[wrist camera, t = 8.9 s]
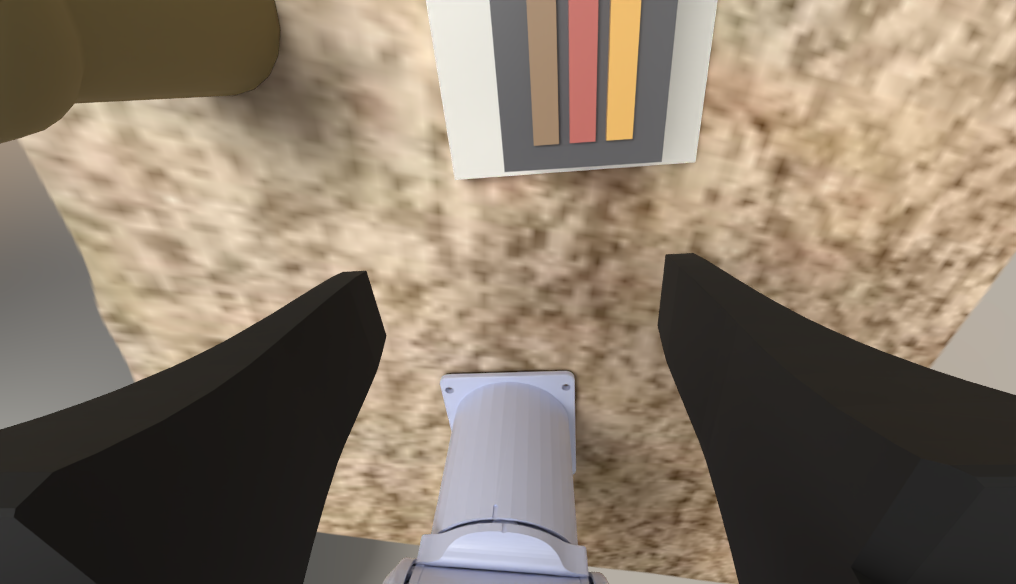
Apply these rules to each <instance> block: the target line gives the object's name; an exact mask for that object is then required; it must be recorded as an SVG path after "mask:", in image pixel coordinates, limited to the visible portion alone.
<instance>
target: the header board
mask: <svg viewBox="0 0 1016 584" xmlns="http://www.w3.org/2000/svg"><path fill="white" fill-rule="evenodd" d="M717 1H718V0H678V7H677V16H676V26H675V36H674V46H673V56H672V66H671V76H670V85H669V95H668V105H667V115H666V125H665V135H664V144H663V154H662V162H653V163H638V164H623V165H607V166H592V167H577V168H562V169H546V170H531V171H516V172H505V171H504V160H503V148H502V137H501V126H500V114H499V103H498V92H497V80H496V69H495V58H494V47H493V35H492V24H491V13H490V1H489V0H426V4H427V10H428V17H429V23H430V29H431V35H432V41H433V47H434V54H435V60H436V66H437V72H438V78H439V84H440V91H441V97H442V103H443V109H444V115H445V121H446V127H447V134H448V140H449V146H450V152H451V158H452V164H453V171H454V177H455V180H460V179H474V178H487V177H501V176H514V175H528V174H542V173H555V172H569V171H583V170H596V169H610V168H623V167H637V166H651V165H664V164H678V163H691V162H695V161H696V154H697V147H698V139H699V132H700V125H701V118H702V110H703V103H704V96H705V88H706V81H707V74H708V67H709V59H710V52H711V45H712V38H713V30H714V23H715V16H716V8H717Z"/></svg>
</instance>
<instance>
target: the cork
mask: <svg viewBox="0 0 1016 584" xmlns="http://www.w3.org/2000/svg"><path fill="white" fill-rule="evenodd" d="M279 38H280V27H279V22H278V16H277V11H276V6H275V1H274V0H0V143H3V142H7V141H11V140H15V139H18V138H22V137H25V136H28V135H31V134H34V133H37V132H40V131H43V130H45V129H47V128H48V127H50V126H51V125H53V124H54V123H56V122H57V121H59V120H60V119H61V118H62V117H63V116H64V115H65V114H66V113H67V112H68V110H69V109H70V108H71V107H72V106H73V105H74V104H75V103H92V102H111V101H131V100H151V99H171V98H191V97H211V96H230V95H238V94H241V93H244V92H247V91H250V90H253V89H255V88H256V87H257V86H258V85H259V84H261V83H262V82H263V81H264V80H265V79H266V78H267V77H268V76H269V75H270V73H271V70H272V68H273V66H274V64H275V61H276V59H277V57H278V51H279Z"/></svg>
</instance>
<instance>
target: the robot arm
mask: <svg viewBox="0 0 1016 584" xmlns="http://www.w3.org/2000/svg"><path fill="white" fill-rule="evenodd" d="M658 329H659V333H660V338H661V342H662V346H663V350H664V354H665V357H666V361H667V364H668V366H669V369H670V371H671V374H672V376H673V379H674V381H675V384H676V386H677V389H678V391H679V394H680V396H681V399H682V401H683V403H684V406H685V408H686V411H687V413H688V416H689V418H690V420H691V423H692V425H693V428H694V430H695V433H696V435H697V438H698V440H699V443H700V445H701V448H702V451H703V454H704V457H705V459H706V462H707V466H708V469H709V473H710V476H711V480H712V483H713V487H714V490H715V494H716V497H717V501H718V504H719V508H720V512H721V515H722V519H723V523H724V527H725V530H726V534H727V538H728V542H729V545H730V549H731V553H732V557H733V561H734V565H735V569H736V574H737V578H738V582H739V584H1016V395H1013V394H1010V393H1006V392H1003V391H1000V390H996V389H993V388H989V387H986V386H982V385H979V384H976V383H973V382H969V381H966V380H963V379H960V378H957V377H954V376H950V375H947V374H944V373H941V372H938V371H935V370H932V369H929V368H926V367H924V366H921V365H918V364H915V363H913V362H910V361H907V360H904V359H902V358H899V357H896V356H893V355H891V354H888V353H885V352H883V351H880V350H878V349H875V348H872V347H870V346H867V345H865V344H862V343H860V342H858V341H855V340H853V339H851V338H849V337H846V336H844V335H842V334H840V333H837V332H835V331H833V330H830V329H828V328H826V327H824V326H822V325H820V324H817V323H815V322H813V321H811V320H809V319H807V318H805V317H803V316H801V315H799V314H798V313H796V312H794V311H792V310H790V309H788V308H786V307H784V306H782V305H780V304H779V303H777V302H775V301H773V300H771V299H770V298H768V297H766V296H764V295H763V294H761V293H759V292H758V291H756V290H754V289H752V288H751V287H749V286H748V285H746V284H744V283H743V282H741V281H739V280H738V279H736V278H734V277H733V276H731V275H730V274H728V273H726V272H725V271H723V270H722V269H720V268H718V267H717V266H715V265H713V264H712V263H710V262H709V261H707V260H705V259H703V258H702V257H700V256H698V255H696V254H694V253H686V254H668V255H666V256H665V265H664V274H663V283H662V291H661V300H660V309H659V318H658ZM385 339H386V333H385V330H384V326H383V323H382V320H381V317H380V314H379V310H378V307H377V304H376V301H375V297H374V294H373V291H372V288H371V284H370V281H369V278H368V275H367V272H366V271H352V272H342V273H340V274H337V275H335V276H333V277H331V278H330V279H328V280H326V281H324V282H323V283H321V284H319V285H318V286H316V287H314V288H313V289H311V290H309V291H308V292H306V293H305V294H303V295H301V296H300V297H298V298H297V299H295V300H293V301H292V302H290V303H289V304H287V305H285V306H284V307H282V308H281V309H279V310H277V311H276V312H274V313H273V314H271V315H269V316H268V317H266V318H264V319H262V320H261V321H259V322H257V323H255V324H254V325H252V326H250V327H249V328H247V329H245V330H243V331H242V332H240V333H238V334H237V335H235V336H233V337H231V338H229V339H228V340H226V341H224V342H222V343H220V344H218V345H216V346H214V347H212V348H211V349H209V350H207V351H204V352H202V353H200V354H198V355H196V356H194V357H192V358H190V359H188V360H186V361H184V362H182V363H180V364H177V365H175V366H173V367H171V368H168V369H166V370H164V371H161V372H159V373H157V374H154V375H152V376H149V377H147V378H145V379H142V380H140V381H138V382H135V383H133V384H130V385H128V386H126V387H123V388H121V389H118V390H116V391H113V392H111V393H108V394H106V395H102V396H100V397H97V398H94V399H92V400H89V401H86V402H84V403H81V404H78V405H75V406H72V407H69V408H66V409H64V410H60V411H58V412H55V413H52V414H49V415H46V416H43V417H40V418H36V419H33V420H30V421H27V422H24V423H21V424H17V425H14V426H11V427H7V428H4V429H1V430H0V584H303V582H304V578H305V573H306V570H307V566H308V562H309V558H310V553H311V550H312V546H313V543H314V539H315V536H316V532H317V529H318V525H319V522H320V518H321V515H322V511H323V508H324V504H325V501H326V498H327V494H328V491H329V488H330V485H331V482H332V479H333V476H334V472H335V469H336V466H337V463H338V461H339V458H340V455H341V453H342V450H343V448H344V445H345V443H346V441H347V438H348V436H349V434H350V432H351V429H352V427H353V425H354V423H355V420H356V418H357V416H358V414H359V411H360V409H361V407H362V405H363V402H364V400H365V398H366V395H367V393H368V391H369V388H370V386H371V384H372V381H373V379H374V377H375V374H376V372H377V369H378V366H379V362H380V359H381V356H382V352H383V348H384V344H385ZM565 384H568V386H564V385H565ZM440 386H441V390H442V394H443V398H444V402H445V407H446V411H447V415H448V419H449V423H450V427H451V431H452V433H451V438H450V443H449V448H448V453H447V458H446V463H445V468H444V473H443V478H442V482H441V487H440V492H439V497H438V502H437V507H436V512H435V517H434V522H433V527H432V532H431V534H423V535H422V538H421V542H420V547H419V552H418V556H417V559H415V558H404V559H402V560H401V561H400V562H399V563H398V565H397V566H396V567H395V568H394V569H393V570H392V571H391V572H390V573H389V574H388V575H387V577H386V578H385V580H384V582H383V584H609V583H608V581H607V579H606V578H605V576H604V575H603V574H602V573H600V572H588V562H587V551H586V547H585V546H580V545H578V539H577V525H576V512H575V498H574V485H573V474H574V473H575V472H576V437H575V379H574V374H573V373H572V372H570V371H541V372H507V373H472V374H446V375H443V376H442V377H441V380H440ZM448 387H450V388H452V389H449V388H448Z"/></svg>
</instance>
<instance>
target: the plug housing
mask: <svg viewBox="0 0 1016 584" xmlns="http://www.w3.org/2000/svg"><path fill="white" fill-rule="evenodd" d="M489 1H490V13H491V24H492V35H493V47H494V58H495V69H496V80H497V92H498V103H499V114H500V126H501V137H502V148H503V160H504V171H505V172H516V171H531V170H546V169H562V168H577V167H592V166H607V165H623V164H638V163H653V162H662V154H663V144H664V135H665V125H666V115H667V105H668V95H669V85H670V76H671V66H672V56H673V46H674V36H675V26H676V16H677V7H678V0H489Z"/></svg>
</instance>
